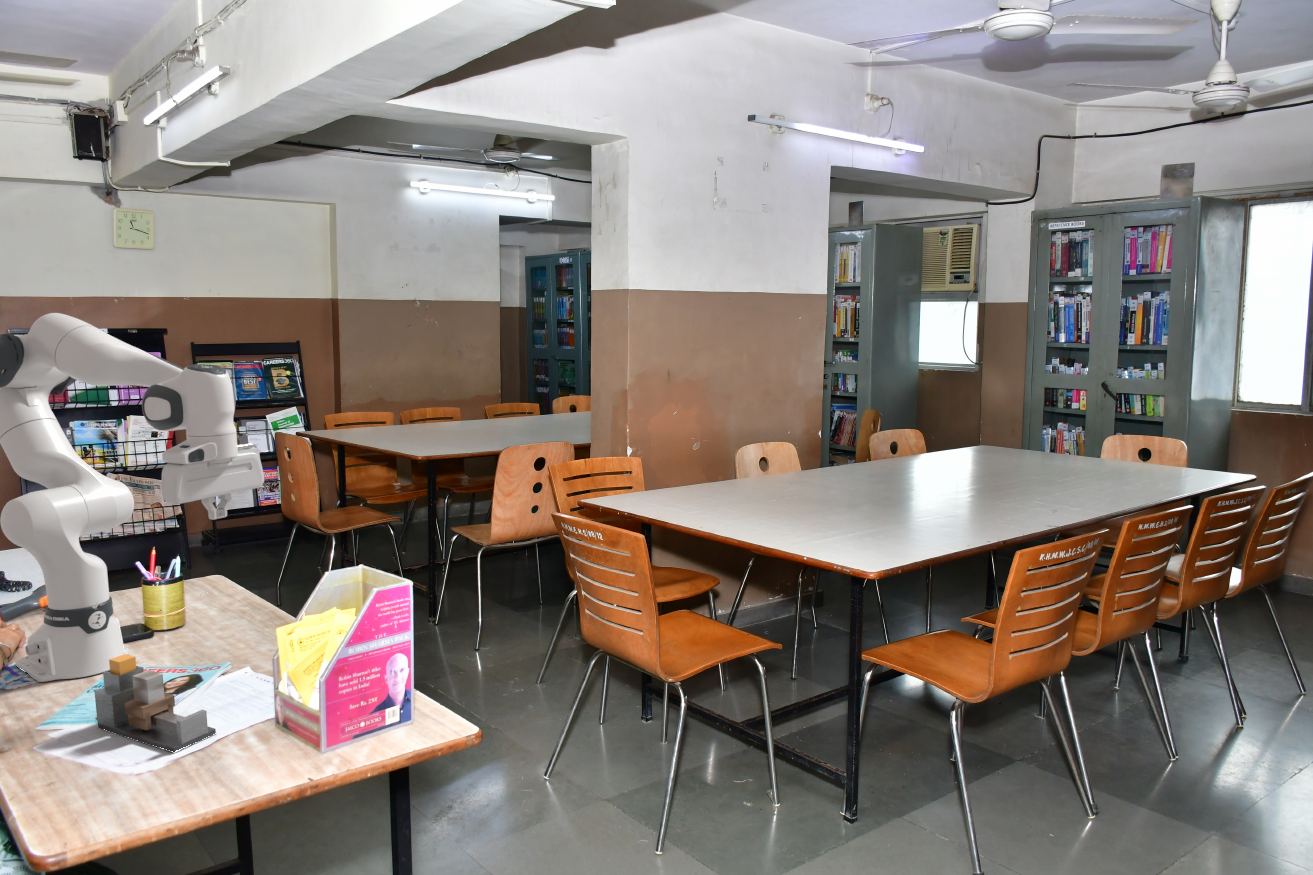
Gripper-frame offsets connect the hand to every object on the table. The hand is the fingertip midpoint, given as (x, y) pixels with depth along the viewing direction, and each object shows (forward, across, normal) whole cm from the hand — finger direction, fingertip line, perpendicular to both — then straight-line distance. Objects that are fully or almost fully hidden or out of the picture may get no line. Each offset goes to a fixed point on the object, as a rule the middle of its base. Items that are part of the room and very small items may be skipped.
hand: (218, 518), depth 182 cm
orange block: (+27, +20, -1) cm, 34 cm away
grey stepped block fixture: (+34, +20, +6) cm, 40 cm away
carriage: (+33, +20, +6) cm, 39 cm away
